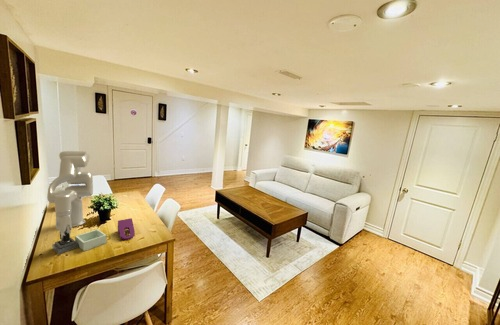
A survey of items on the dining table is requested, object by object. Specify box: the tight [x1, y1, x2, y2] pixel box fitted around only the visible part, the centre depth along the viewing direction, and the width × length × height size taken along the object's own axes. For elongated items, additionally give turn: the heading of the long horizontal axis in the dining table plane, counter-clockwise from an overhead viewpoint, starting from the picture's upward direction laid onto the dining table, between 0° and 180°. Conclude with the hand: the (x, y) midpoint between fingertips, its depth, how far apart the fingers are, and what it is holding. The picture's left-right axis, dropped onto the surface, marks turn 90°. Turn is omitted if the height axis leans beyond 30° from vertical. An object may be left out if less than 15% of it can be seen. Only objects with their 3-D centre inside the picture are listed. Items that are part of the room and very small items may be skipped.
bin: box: [74, 228, 108, 252], centre depth 140 cm, size 13×13×6 cm
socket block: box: [51, 236, 79, 255], centre depth 133 cm, size 10×10×4 cm
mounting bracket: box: [117, 218, 135, 241], centre depth 156 cm, size 9×8×18 cm
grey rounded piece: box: [60, 232, 70, 245], centre depth 132 cm, size 5×5×13 cm
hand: (65, 239), depth 132 cm, fingers closed on grey rounded piece, 3 cm apart
